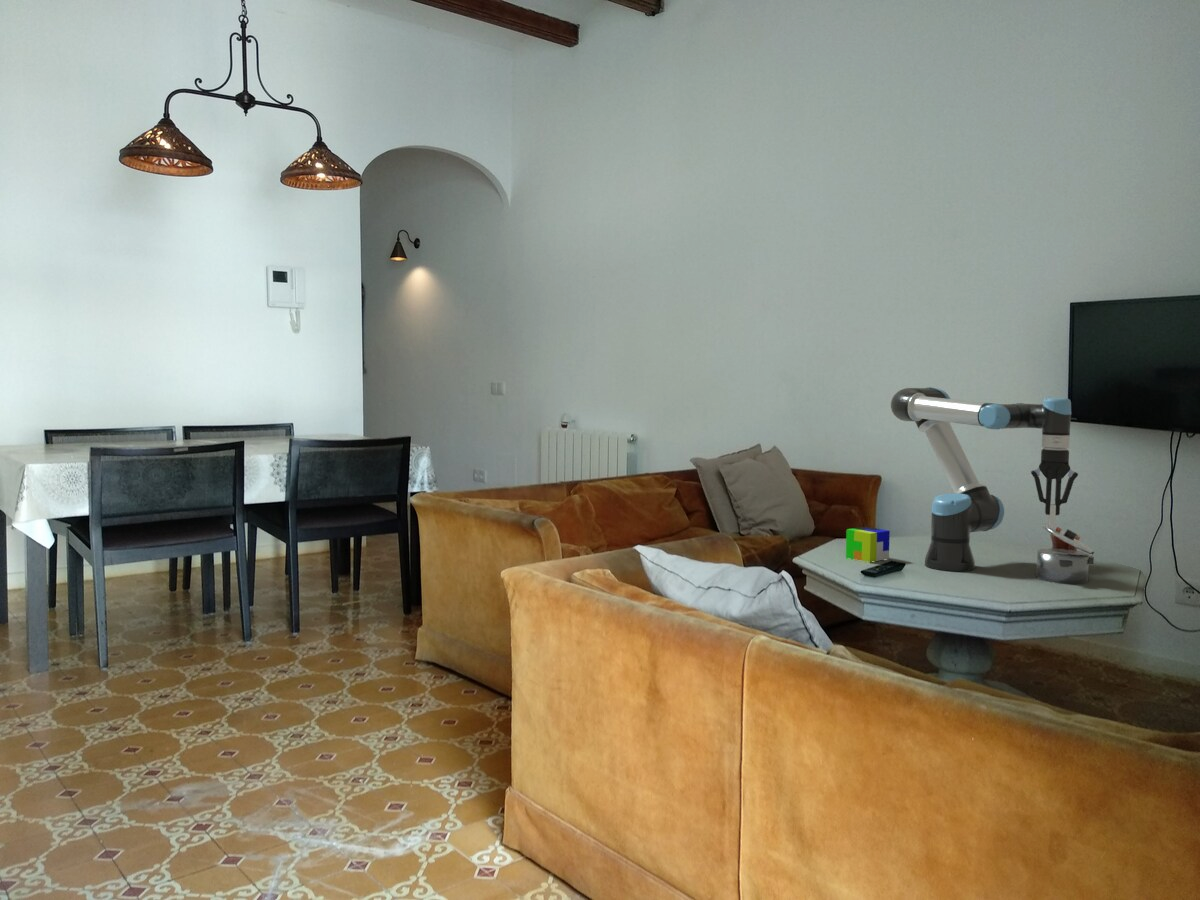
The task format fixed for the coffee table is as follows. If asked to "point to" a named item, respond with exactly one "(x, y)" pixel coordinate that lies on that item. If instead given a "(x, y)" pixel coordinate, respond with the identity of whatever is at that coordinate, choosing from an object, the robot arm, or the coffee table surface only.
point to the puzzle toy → (867, 544)
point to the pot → (1063, 566)
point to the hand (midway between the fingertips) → (1051, 525)
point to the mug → (1062, 543)
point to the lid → (1068, 538)
